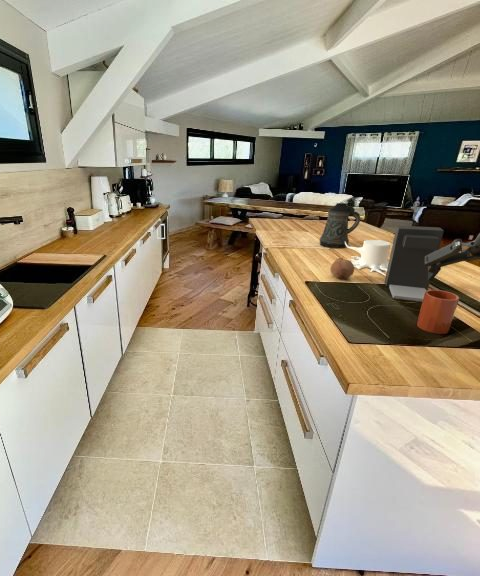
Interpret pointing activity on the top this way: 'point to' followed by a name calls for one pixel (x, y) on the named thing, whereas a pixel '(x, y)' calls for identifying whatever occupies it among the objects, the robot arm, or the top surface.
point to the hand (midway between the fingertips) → (461, 279)
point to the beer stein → (338, 226)
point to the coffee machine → (411, 261)
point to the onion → (342, 268)
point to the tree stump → (372, 255)
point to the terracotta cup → (437, 311)
